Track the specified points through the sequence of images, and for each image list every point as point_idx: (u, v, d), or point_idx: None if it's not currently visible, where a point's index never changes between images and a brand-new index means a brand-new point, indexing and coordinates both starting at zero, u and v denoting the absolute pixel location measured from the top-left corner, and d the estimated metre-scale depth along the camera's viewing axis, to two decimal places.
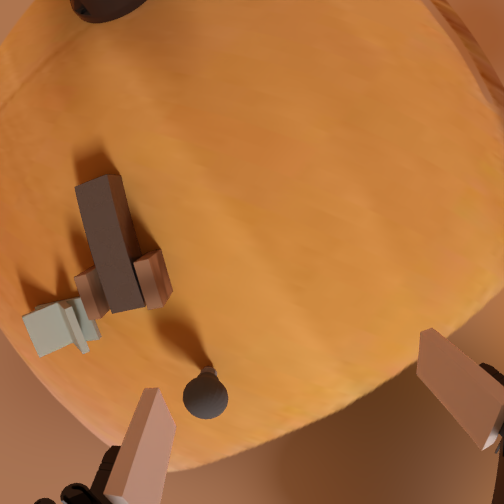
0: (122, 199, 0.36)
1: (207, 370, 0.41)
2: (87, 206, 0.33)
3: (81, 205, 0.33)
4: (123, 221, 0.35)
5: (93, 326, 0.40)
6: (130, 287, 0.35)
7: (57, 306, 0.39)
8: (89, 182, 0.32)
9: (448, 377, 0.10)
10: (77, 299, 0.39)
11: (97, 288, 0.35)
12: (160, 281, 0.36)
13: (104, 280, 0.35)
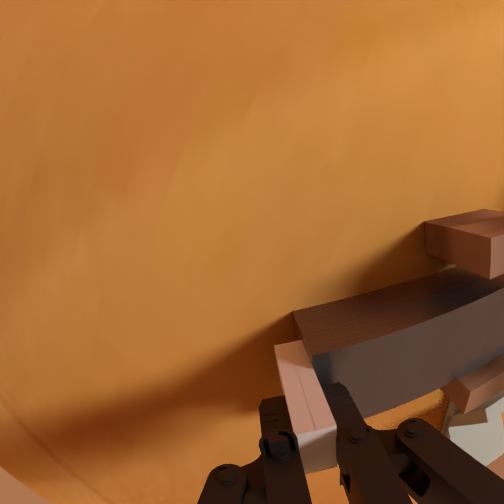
0: (357, 309, 0.15)
1: None
2: (374, 398, 0.13)
3: (367, 412, 0.13)
4: (416, 306, 0.14)
5: None
6: None
7: (453, 426, 0.19)
8: None
9: None
10: None
11: None
12: (503, 222, 0.12)
13: (500, 348, 0.13)
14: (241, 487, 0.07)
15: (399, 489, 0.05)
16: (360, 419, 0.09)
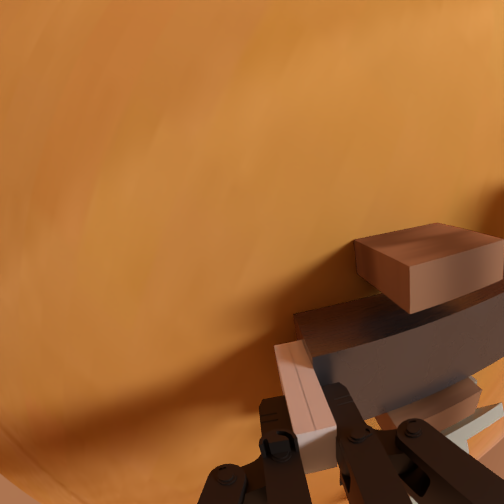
0: (358, 311, 0.15)
1: None
2: (373, 400, 0.13)
3: (366, 414, 0.13)
4: None
5: None
6: None
7: None
8: None
9: None
10: None
11: None
12: (446, 242, 0.12)
13: (499, 352, 0.13)
14: (241, 487, 0.07)
15: (399, 489, 0.05)
16: (360, 419, 0.09)
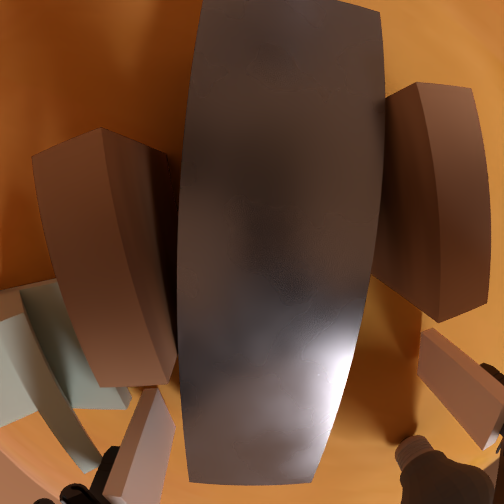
0: None
1: (423, 447, 0.13)
2: (243, 72, 0.06)
3: (210, 58, 0.06)
4: None
5: None
6: (299, 445, 0.09)
7: None
8: None
9: (449, 378, 0.10)
10: (54, 285, 0.11)
11: (146, 228, 0.08)
12: None
13: (201, 411, 0.08)
14: None
15: None
16: None
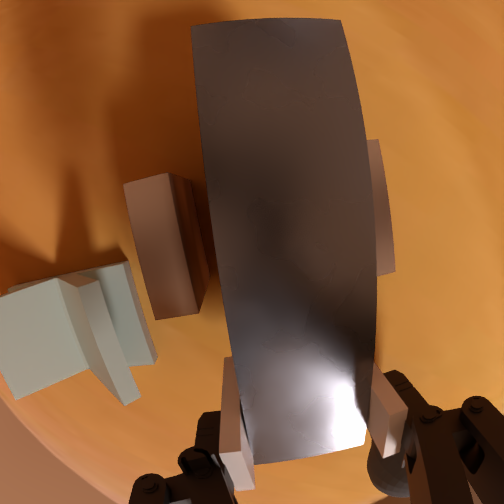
0: None
1: None
2: (240, 97, 0.08)
3: (210, 90, 0.08)
4: None
5: (143, 334, 0.18)
6: (346, 407, 0.10)
7: (56, 286, 0.17)
8: (264, 22, 0.07)
9: None
10: (107, 269, 0.17)
11: (186, 227, 0.14)
12: None
13: (256, 389, 0.10)
14: (163, 494, 0.07)
15: (459, 470, 0.05)
16: (424, 402, 0.09)
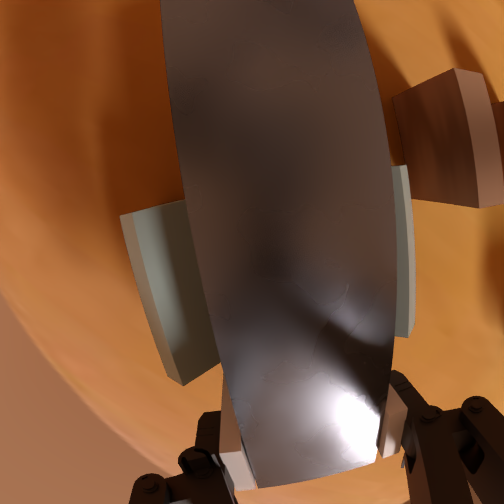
0: None
1: None
2: (223, 77, 0.06)
3: (185, 70, 0.06)
4: None
5: None
6: (357, 431, 0.09)
7: None
8: None
9: None
10: None
11: None
12: None
13: (258, 422, 0.08)
14: (164, 494, 0.07)
15: (459, 470, 0.05)
16: (423, 402, 0.09)
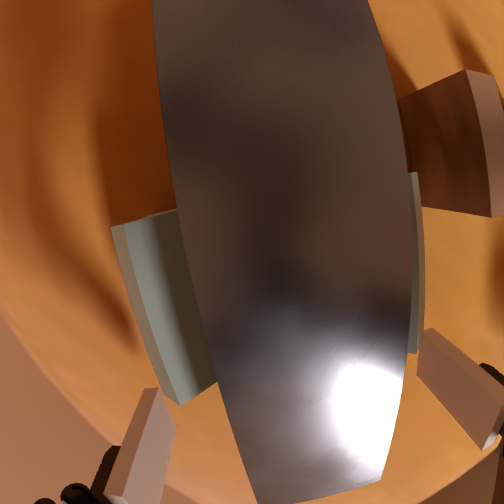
0: None
1: None
2: (222, 75, 0.05)
3: (178, 67, 0.05)
4: None
5: None
6: (363, 453, 0.08)
7: None
8: None
9: (448, 377, 0.10)
10: None
11: None
12: None
13: (260, 447, 0.07)
14: None
15: None
16: None
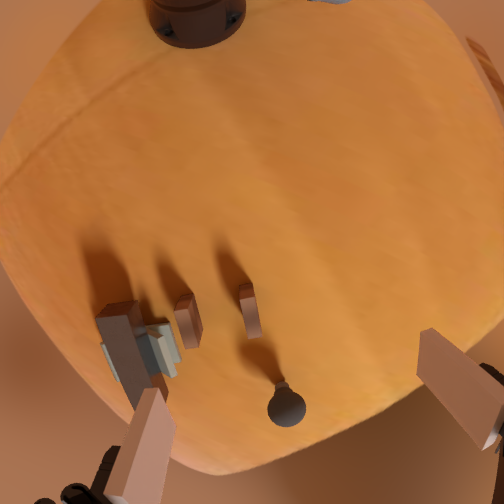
0: (140, 326, 0.40)
1: (283, 385, 0.47)
2: (109, 336, 0.37)
3: (103, 334, 0.36)
4: (143, 348, 0.39)
5: (176, 350, 0.46)
6: None
7: None
8: (109, 318, 0.36)
9: (448, 378, 0.10)
10: (162, 326, 0.45)
11: (194, 319, 0.41)
12: (258, 314, 0.42)
13: (128, 390, 0.39)
14: None
15: None
16: None
